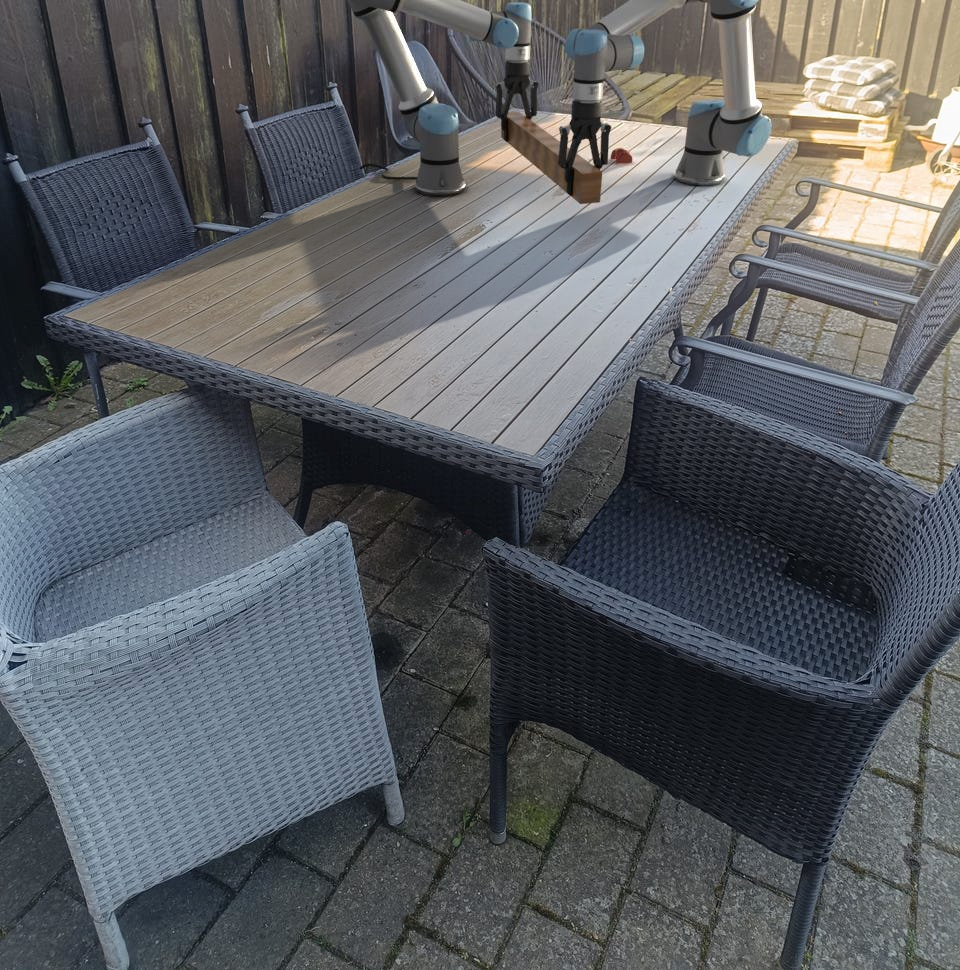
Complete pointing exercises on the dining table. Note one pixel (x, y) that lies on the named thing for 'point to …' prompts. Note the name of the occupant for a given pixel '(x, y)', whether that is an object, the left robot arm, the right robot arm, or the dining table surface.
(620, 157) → the red rounded lump
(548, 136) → the beam
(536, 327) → the dining table surface
